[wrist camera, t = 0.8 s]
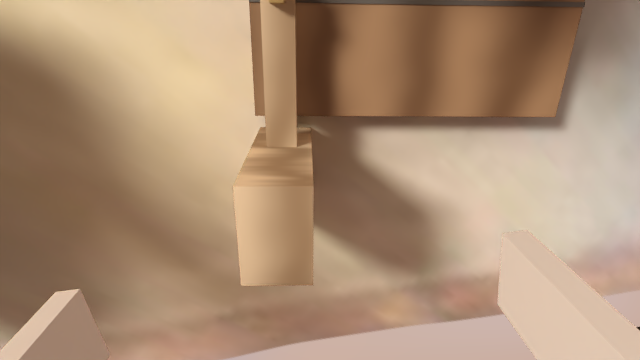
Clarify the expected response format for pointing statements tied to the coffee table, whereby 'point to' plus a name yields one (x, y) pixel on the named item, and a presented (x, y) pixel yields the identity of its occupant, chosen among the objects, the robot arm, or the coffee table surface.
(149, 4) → the coffee table surface
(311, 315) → the coffee table surface
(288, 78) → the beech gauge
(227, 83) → the coffee table surface
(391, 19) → the walnut board
